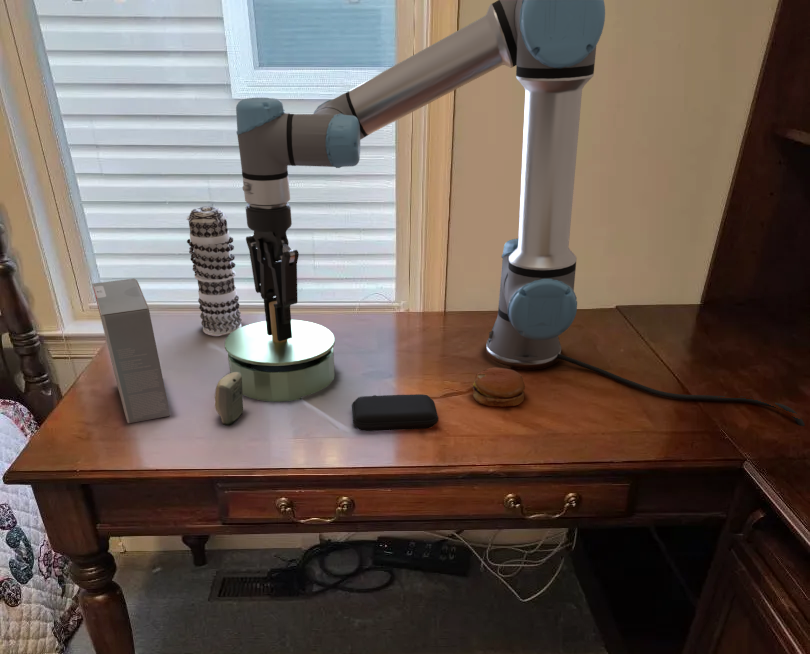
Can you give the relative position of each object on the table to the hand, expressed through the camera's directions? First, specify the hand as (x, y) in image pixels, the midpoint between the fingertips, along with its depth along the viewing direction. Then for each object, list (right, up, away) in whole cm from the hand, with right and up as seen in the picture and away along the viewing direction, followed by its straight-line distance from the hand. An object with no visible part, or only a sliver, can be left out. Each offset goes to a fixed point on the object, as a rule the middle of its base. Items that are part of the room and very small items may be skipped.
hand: (279, 335), depth 140 cm
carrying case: (+21, -17, -7) cm, 28 cm away
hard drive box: (-24, -13, -3) cm, 28 cm away
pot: (0, -7, +5) cm, 9 cm away
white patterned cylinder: (-17, +7, +25) cm, 31 cm away
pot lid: (0, -1, +1) cm, 1 cm away
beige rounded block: (-7, -17, -8) cm, 20 cm away
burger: (+41, -12, 0) cm, 42 cm away
